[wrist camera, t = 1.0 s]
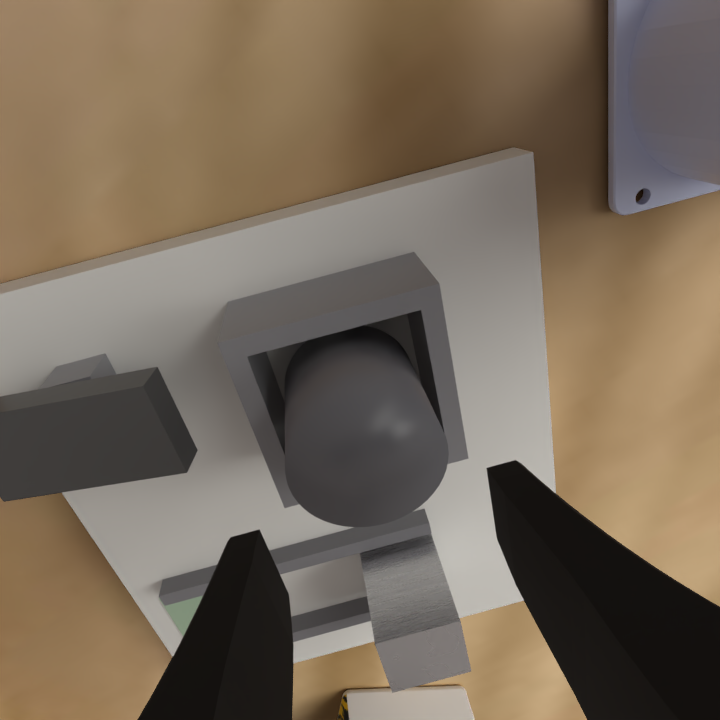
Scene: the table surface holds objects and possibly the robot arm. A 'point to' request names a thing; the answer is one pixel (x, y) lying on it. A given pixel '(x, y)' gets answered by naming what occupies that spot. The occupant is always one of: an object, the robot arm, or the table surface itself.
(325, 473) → the push button
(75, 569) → the table surface
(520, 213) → the panel
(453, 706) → the medicine bottle
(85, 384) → the rocker
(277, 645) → the robot arm
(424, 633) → the slider knob
